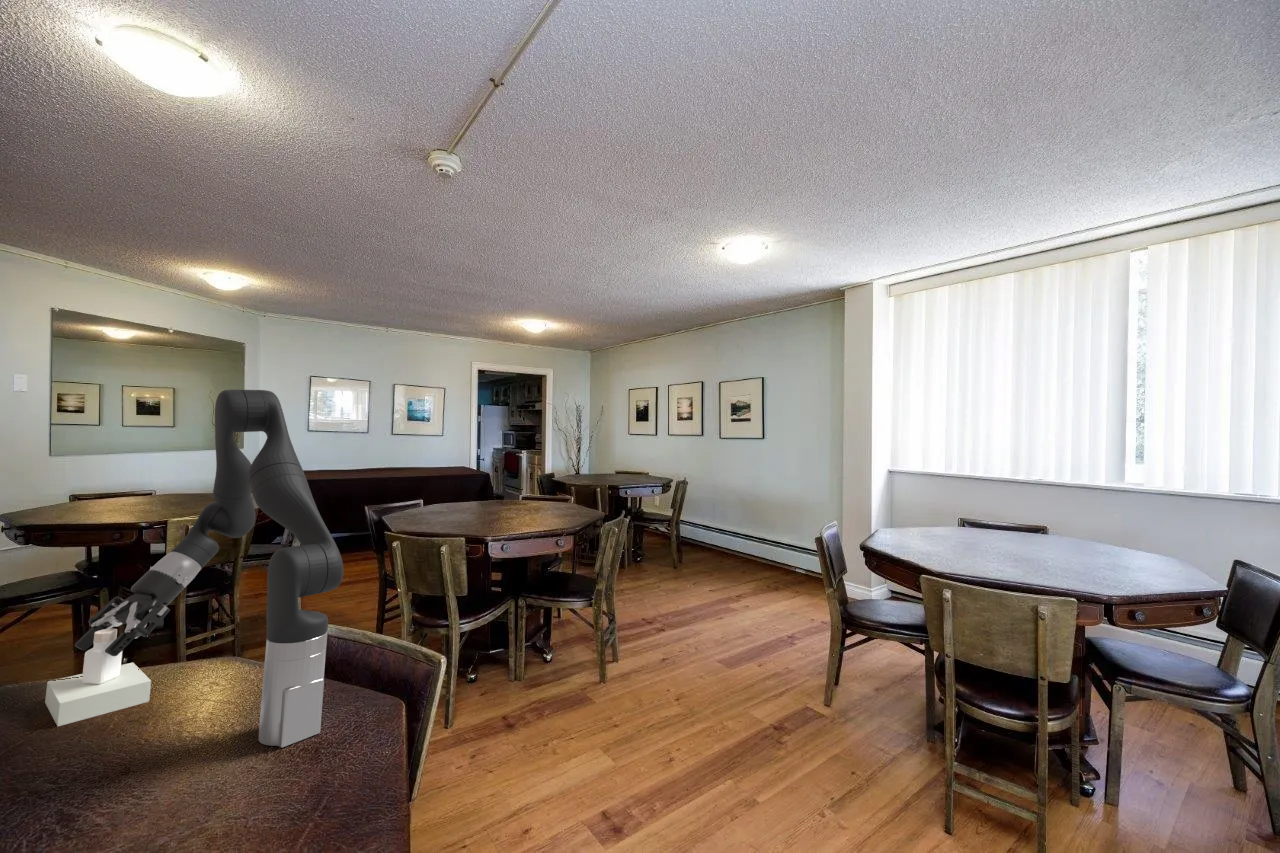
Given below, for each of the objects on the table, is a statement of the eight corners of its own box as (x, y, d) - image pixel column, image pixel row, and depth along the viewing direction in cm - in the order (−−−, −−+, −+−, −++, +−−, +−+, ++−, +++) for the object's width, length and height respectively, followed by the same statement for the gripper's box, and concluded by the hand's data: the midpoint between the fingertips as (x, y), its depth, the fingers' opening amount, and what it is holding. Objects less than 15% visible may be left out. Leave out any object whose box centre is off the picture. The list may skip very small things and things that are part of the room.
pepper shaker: (100, 685, 98) (105, 634, 98) (79, 684, 98) (85, 634, 98) (121, 676, 102) (126, 628, 102) (101, 675, 102) (106, 627, 102)
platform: (149, 701, 100) (151, 680, 100) (57, 726, 90) (60, 703, 91) (131, 681, 108) (133, 662, 108) (45, 702, 98) (47, 681, 98)
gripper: (130, 565, 110) (52, 637, 98) (179, 571, 106) (104, 647, 94) (157, 584, 114) (85, 655, 103) (204, 591, 111) (135, 665, 99)
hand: (94, 651), depth 99 cm, fingers open, 8 cm apart
